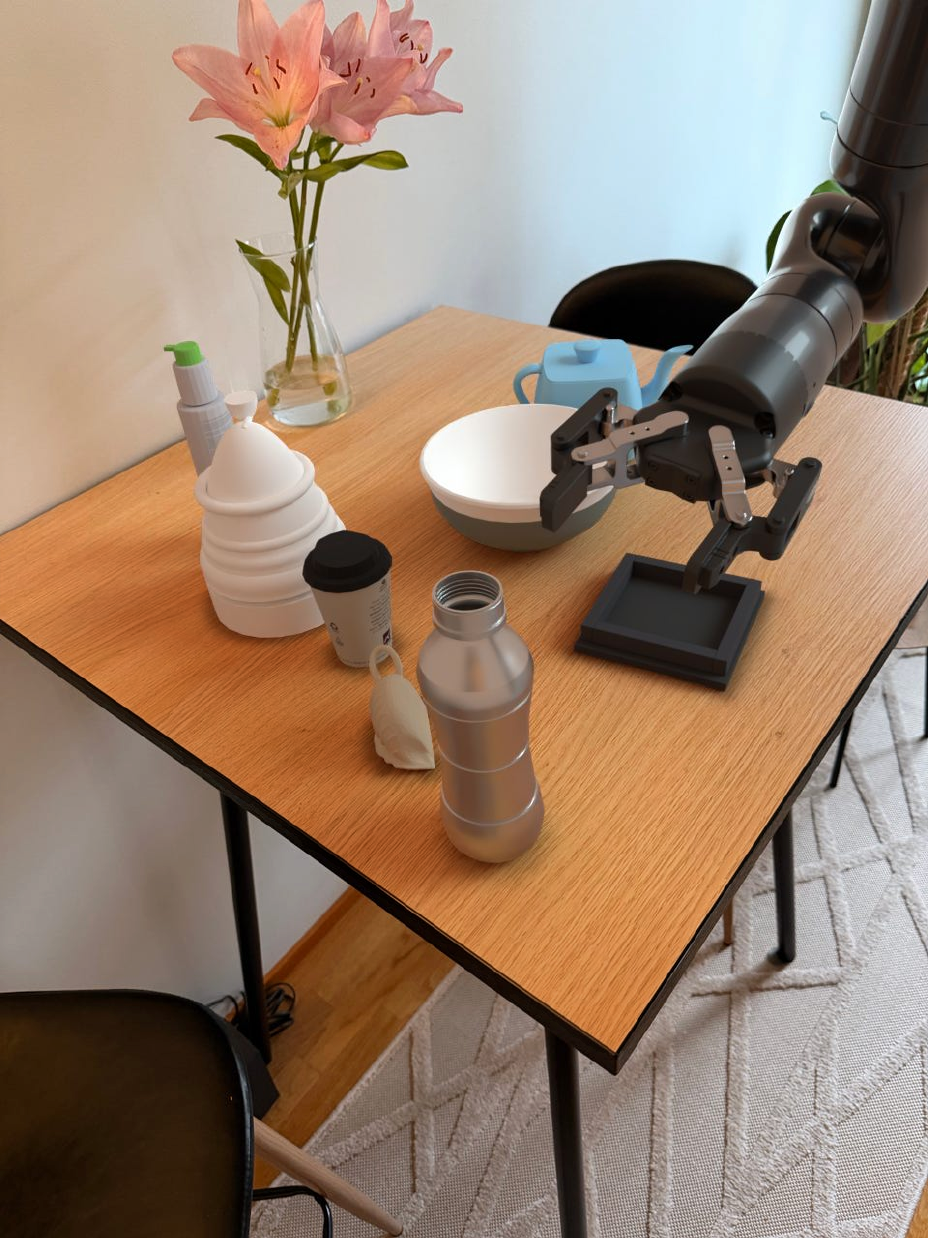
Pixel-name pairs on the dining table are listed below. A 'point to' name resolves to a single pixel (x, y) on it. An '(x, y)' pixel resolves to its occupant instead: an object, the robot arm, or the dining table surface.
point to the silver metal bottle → (481, 719)
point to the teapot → (594, 374)
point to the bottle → (199, 403)
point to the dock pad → (671, 622)
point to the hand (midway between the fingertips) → (615, 549)
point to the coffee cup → (352, 593)
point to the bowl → (504, 477)
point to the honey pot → (260, 528)
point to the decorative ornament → (399, 718)
